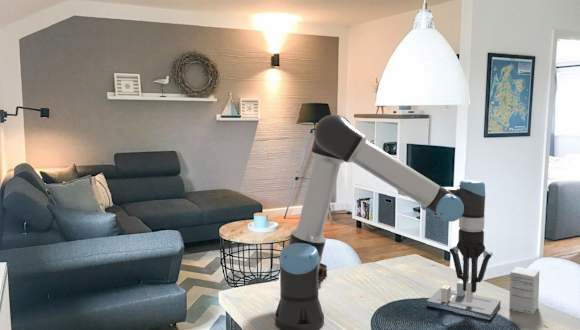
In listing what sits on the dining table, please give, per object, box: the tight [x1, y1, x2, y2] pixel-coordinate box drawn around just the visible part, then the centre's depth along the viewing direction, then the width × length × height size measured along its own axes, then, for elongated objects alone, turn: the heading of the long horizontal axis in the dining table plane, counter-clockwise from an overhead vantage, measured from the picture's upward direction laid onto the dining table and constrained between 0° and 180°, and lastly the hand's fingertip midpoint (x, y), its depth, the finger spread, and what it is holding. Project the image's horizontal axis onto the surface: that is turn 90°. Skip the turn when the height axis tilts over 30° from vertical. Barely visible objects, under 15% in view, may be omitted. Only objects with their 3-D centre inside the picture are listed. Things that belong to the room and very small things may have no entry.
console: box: [426, 287, 502, 318], centre depth 160 cm, size 15×20×2 cm
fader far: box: [456, 279, 466, 297], centre depth 164 cm, size 4×2×5 cm, turn 145°
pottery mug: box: [318, 262, 328, 282], centre depth 186 cm, size 12×10×8 cm
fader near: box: [441, 284, 452, 303], centre depth 159 cm, size 4×2×5 cm, turn 145°
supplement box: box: [508, 266, 540, 315], centre depth 157 cm, size 7×7×13 cm
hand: (469, 301), depth 155 cm, fingers closed
